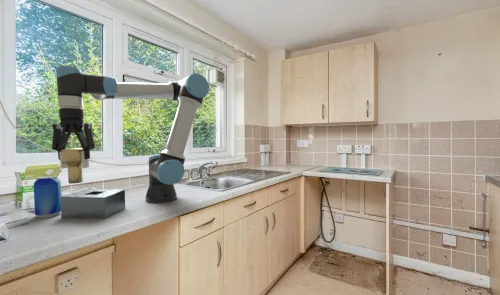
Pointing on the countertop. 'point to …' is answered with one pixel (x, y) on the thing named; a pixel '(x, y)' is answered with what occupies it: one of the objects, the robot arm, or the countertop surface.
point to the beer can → (47, 196)
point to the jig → (92, 203)
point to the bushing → (73, 164)
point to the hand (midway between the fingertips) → (75, 167)
